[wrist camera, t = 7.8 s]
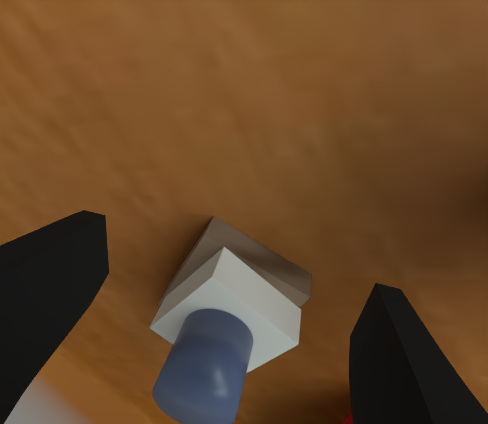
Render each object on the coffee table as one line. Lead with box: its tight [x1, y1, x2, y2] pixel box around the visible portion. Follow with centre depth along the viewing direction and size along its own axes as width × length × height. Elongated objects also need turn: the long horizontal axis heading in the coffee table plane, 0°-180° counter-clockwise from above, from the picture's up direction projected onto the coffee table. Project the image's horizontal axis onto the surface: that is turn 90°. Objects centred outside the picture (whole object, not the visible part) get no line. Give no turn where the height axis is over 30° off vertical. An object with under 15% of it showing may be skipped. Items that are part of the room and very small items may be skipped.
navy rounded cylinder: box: [153, 309, 253, 424], centre depth 18 cm, size 4×4×4 cm
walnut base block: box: [157, 216, 312, 308], centre depth 23 cm, size 7×7×2 cm
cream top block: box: [149, 247, 301, 373], centre depth 21 cm, size 6×6×2 cm
